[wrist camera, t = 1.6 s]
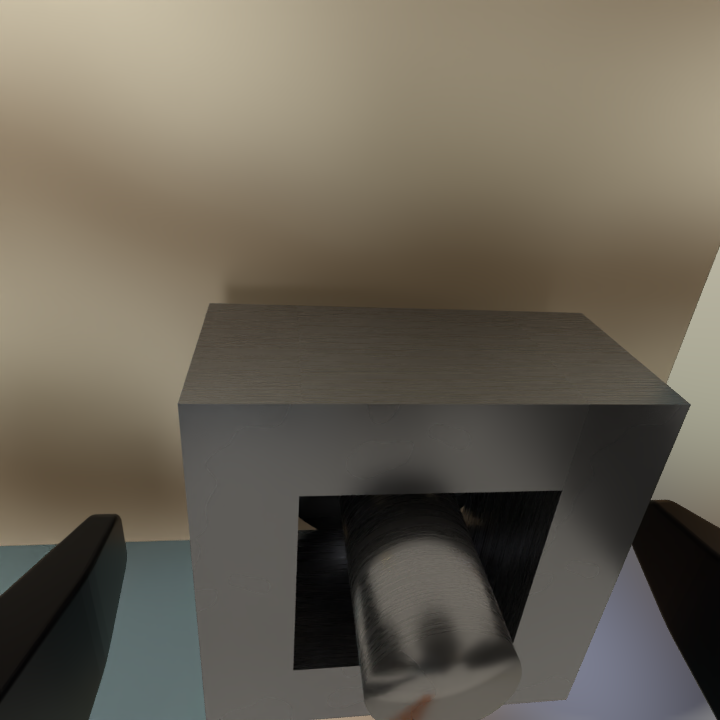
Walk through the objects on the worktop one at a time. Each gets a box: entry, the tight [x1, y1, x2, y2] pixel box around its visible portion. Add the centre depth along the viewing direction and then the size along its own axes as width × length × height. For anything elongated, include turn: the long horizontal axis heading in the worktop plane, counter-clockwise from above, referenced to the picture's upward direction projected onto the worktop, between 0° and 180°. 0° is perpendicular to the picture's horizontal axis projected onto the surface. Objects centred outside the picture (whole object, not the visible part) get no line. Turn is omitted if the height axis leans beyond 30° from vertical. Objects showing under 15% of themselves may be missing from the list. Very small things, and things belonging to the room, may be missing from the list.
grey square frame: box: [178, 303, 690, 720], centre depth 9 cm, size 6×6×3 cm
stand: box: [298, 493, 522, 720], centre depth 9 cm, size 4×4×6 cm
